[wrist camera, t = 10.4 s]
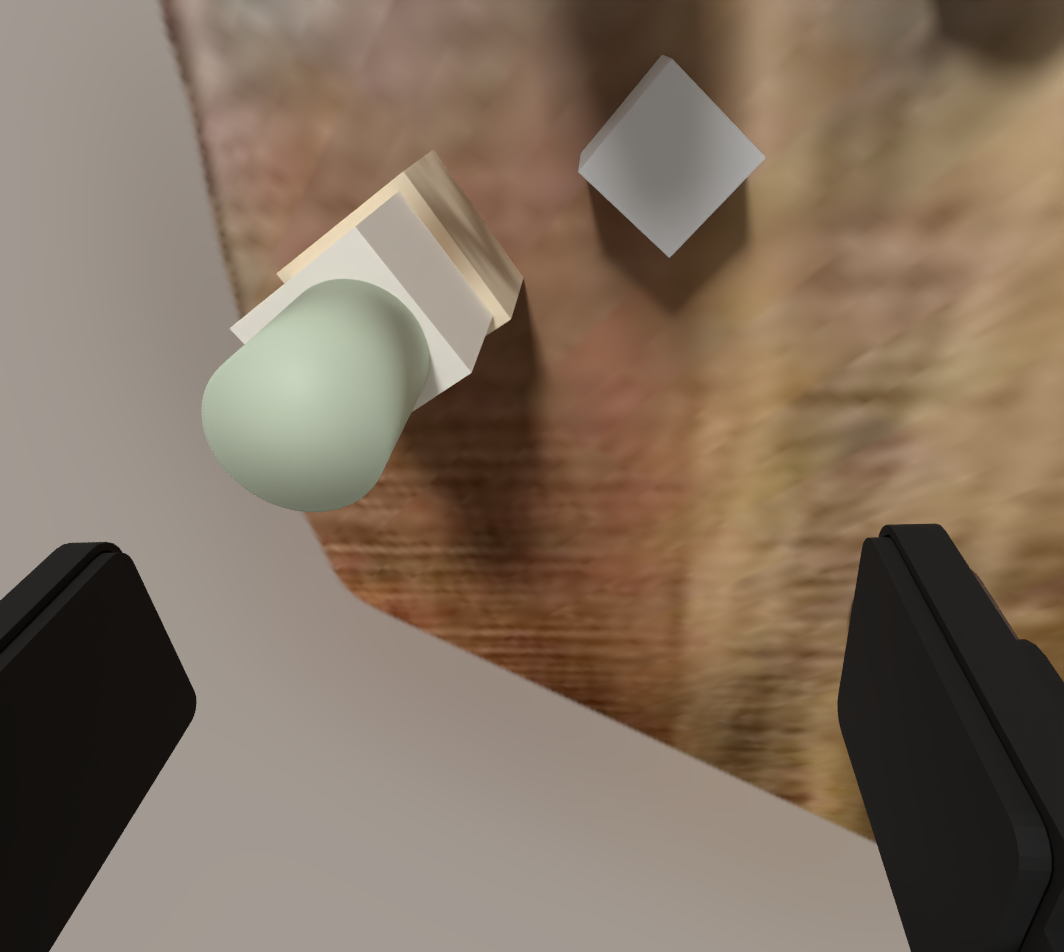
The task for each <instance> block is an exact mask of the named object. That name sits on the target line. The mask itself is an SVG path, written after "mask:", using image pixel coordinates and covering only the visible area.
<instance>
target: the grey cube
mask: <svg viewBox="0 0 1064 952" xmlns="http://www.w3.org/2000/svg"><path fill="white" fill-rule="evenodd" d="M765 158H766V157H765V156H764V155H763V154H762V153H761V152H760V151H759V150H758V149H757V148H756V147H755V146H754V144H753V143H752V142H751V141H750V140H749V139H748V138H747V137H746V136H745V135H744V134H743V133H742V132H741V131H740V130H739V129H738V128H737V127H736V125H735V124H734V123H733V122H732V121H731V120H730V119H729V118H728V117H727V116H726V115H725V114H724V113H723V112H722V111H721V110H720V109H719V108H718V106H717V105H716V104H715V103H714V102H713V101H712V100H711V99H710V98H709V97H708V96H707V95H706V94H705V93H704V92H703V91H702V90H701V89H700V88H699V86H698V85H697V84H696V83H695V82H694V81H693V80H692V79H691V78H690V77H689V76H688V75H687V74H686V73H685V72H684V71H683V70H682V69H681V67H680V66H679V65H678V64H677V63H676V62H675V61H674V60H673V59H672V58H669V57H667V56H665V55H661V56H660V58H659V59H658V60H657V61H656V62H655V64H654V65H653V66H652V67H651V69H650V70H649V71H648V72H647V73H646V75H645V76H644V77H643V78H642V79H641V81H640V82H639V83H638V84H637V86H636V87H635V88H634V89H633V90H632V92H631V93H630V94H629V95H628V96H627V98H626V99H625V100H624V101H623V103H622V104H621V105H620V106H619V107H618V109H617V110H616V111H615V112H614V114H613V115H612V116H611V117H610V118H609V120H608V121H607V122H606V123H605V124H604V126H603V127H602V128H601V129H600V131H599V132H598V133H597V134H596V135H595V137H594V138H593V139H592V140H591V141H590V143H589V144H588V145H587V146H586V148H585V149H584V150H583V151H582V152H581V155H580V162H579V169H578V172H579V173H580V174H581V175H582V176H583V177H584V178H585V179H586V180H587V181H588V182H589V183H590V184H591V185H592V186H594V187H595V188H596V189H597V190H598V191H599V192H600V193H601V194H602V195H603V196H604V197H605V198H606V199H607V200H608V201H609V202H611V203H612V204H613V205H614V206H615V207H616V208H617V209H618V210H619V211H620V212H621V213H622V214H623V215H624V216H625V217H626V218H627V219H629V220H630V221H631V222H632V223H633V224H634V225H635V226H636V227H637V228H638V229H639V230H640V231H641V232H642V233H643V234H644V235H645V236H647V237H648V238H649V239H650V240H651V241H652V242H653V243H654V244H655V245H656V246H657V247H658V248H659V249H660V250H661V251H662V252H664V253H665V254H666V255H667V256H668V257H669V258H670V257H671V256H672V255H673V254H674V253H675V252H676V251H677V250H678V249H679V248H680V247H681V246H682V245H683V243H684V242H685V241H686V240H687V239H688V238H689V237H690V236H691V235H692V234H693V233H694V232H695V231H696V230H697V229H698V228H699V227H700V226H701V225H702V224H703V223H704V222H705V221H706V220H707V219H708V217H709V216H710V215H711V214H712V213H713V212H714V211H715V210H716V209H717V208H718V207H719V206H720V205H721V204H722V203H723V202H724V201H725V200H726V199H727V198H728V197H729V196H730V195H731V194H732V193H733V191H734V190H735V189H736V188H737V187H738V186H739V185H740V184H741V183H742V182H743V181H744V180H745V179H746V178H747V177H748V176H749V175H750V174H751V173H752V172H753V171H754V170H755V169H756V168H757V167H758V165H759V164H760V163H761V162H762V161H763V160H764V159H765Z"/></svg>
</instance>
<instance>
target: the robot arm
mask: <svg viewBox="0 0 1064 952" xmlns="http://www.w3.org/2000/svg"><path fill="white" fill-rule="evenodd" d="M195 710H196V695H195V692H194V690H193V687H192V685H191V683H190V681H189V679H188V677H187V675H186V673H185V670H184V668H183V666H182V664H181V662H180V660H179V658H178V656H177V653H176V651H175V649H174V647H173V645H172V643H171V641H170V639H169V637H168V634H167V632H166V630H165V628H164V626H163V624H162V622H161V619H160V618H159V615H158V613H157V611H156V609H155V607H154V605H153V603H152V600H151V598H150V596H149V594H148V592H147V590H146V588H145V586H144V583H143V581H142V579H141V577H140V575H139V573H138V571H137V569H136V567H135V564H134V563H133V561H132V559H131V558H130V557H129V556H128V555H127V554H125V553H122V551H121V550H120V548H119V547H117V546H116V545H114V544H113V543H108V542H91V543H89V542H88V543H68V544H64V545H62V546H60V547H59V548H57V549H56V550H55V551H54V552H52V553H51V554H50V555H49V556H48V557H47V558H46V559H45V560H44V561H43V562H42V563H41V564H40V565H38V566H37V567H36V568H35V569H34V570H33V571H32V572H31V573H30V574H29V575H28V576H26V577H25V578H24V579H23V580H22V581H21V582H20V583H19V584H18V585H17V586H16V587H15V588H13V589H12V590H11V591H10V592H9V593H8V594H7V595H6V596H5V597H4V598H3V599H2V600H0V952H49V951H50V949H51V947H52V946H53V944H54V943H55V941H56V939H57V938H58V936H59V935H60V933H61V931H62V930H63V928H64V926H65V925H66V923H67V922H68V920H69V918H70V917H71V915H72V914H73V912H74V910H75V909H76V907H77V905H78V904H79V902H80V901H81V899H82V897H83V896H84V894H85V892H86V891H87V889H88V888H89V886H90V884H91V882H92V881H93V880H94V878H95V876H96V875H97V873H98V871H99V870H100V868H101V867H102V865H103V863H104V862H105V860H106V858H107V857H108V855H109V854H110V852H111V850H112V849H113V847H114V846H115V844H116V842H117V841H118V839H119V838H120V836H121V834H122V833H123V831H124V829H125V828H126V826H127V825H128V823H129V821H130V820H131V818H132V816H133V815H134V813H135V812H136V810H137V808H138V807H139V805H140V804H141V802H142V800H143V799H144V797H145V795H146V794H147V792H148V791H149V789H150V787H151V786H152V784H153V782H154V781H155V779H156V778H157V776H158V774H159V773H160V771H161V770H162V768H163V766H164V765H165V763H166V762H167V760H168V758H169V757H170V755H171V753H172V752H173V750H174V749H175V747H176V745H177V744H178V742H179V741H180V739H181V737H182V736H183V734H184V732H185V731H186V729H187V728H188V726H189V724H190V723H191V721H192V719H193V717H194V713H195ZM838 718H839V724H840V728H841V732H842V735H843V738H844V741H845V744H846V748H847V751H848V754H849V757H850V760H851V763H852V767H853V770H854V773H855V776H856V779H857V782H858V785H859V789H860V792H861V795H862V798H863V801H864V804H865V808H866V811H867V814H868V817H869V820H870V823H871V827H872V830H873V833H874V836H875V839H876V842H877V845H878V849H879V852H880V855H881V858H882V861H883V864H884V867H885V871H886V874H887V877H888V880H889V883H890V887H891V890H892V893H893V896H894V899H895V902H896V905H897V909H898V912H899V915H900V918H901V921H902V924H903V928H904V930H905V934H906V937H907V940H908V943H909V946H910V950H911V952H1064V682H1063V681H1062V679H1061V678H1060V676H1059V675H1058V673H1057V672H1056V670H1055V669H1054V667H1053V666H1052V664H1051V663H1050V662H1049V660H1048V659H1047V657H1046V656H1045V655H1044V654H1043V652H1042V651H1041V650H1040V649H1039V648H1038V647H1037V646H1036V645H1035V644H1033V643H1031V642H1030V641H1028V640H1026V639H1016V638H1015V637H1014V635H1013V634H1012V632H1011V631H1010V629H1009V628H1008V626H1007V624H1006V623H1005V621H1004V620H1003V618H1002V617H1001V615H1000V614H999V612H998V611H997V609H996V608H995V606H994V604H993V603H992V601H991V600H990V598H989V597H988V595H987V594H986V592H985V591H984V589H983V588H982V586H981V585H980V583H979V581H978V580H977V578H976V577H975V575H974V574H973V572H972V571H971V569H970V568H969V566H968V565H967V563H966V562H965V560H964V558H963V557H962V555H961V554H960V552H959V551H958V549H957V548H956V546H955V545H954V543H953V542H952V540H951V538H950V537H949V535H948V534H947V532H946V531H945V530H944V529H943V527H942V526H941V525H938V524H901V525H885V526H884V527H883V528H882V529H881V531H880V534H879V537H878V538H867V539H865V541H864V543H863V547H862V552H861V558H860V564H859V570H858V577H857V583H856V589H855V595H854V601H853V608H852V614H851V620H850V626H849V632H848V638H847V645H846V651H845V657H844V663H843V669H842V676H841V682H840V688H839V694H838Z"/></svg>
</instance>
